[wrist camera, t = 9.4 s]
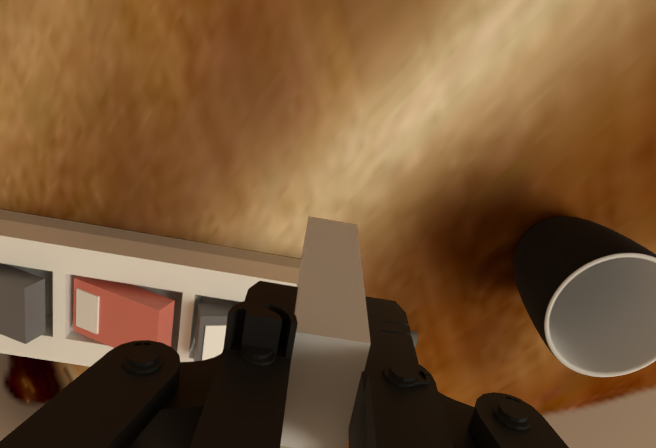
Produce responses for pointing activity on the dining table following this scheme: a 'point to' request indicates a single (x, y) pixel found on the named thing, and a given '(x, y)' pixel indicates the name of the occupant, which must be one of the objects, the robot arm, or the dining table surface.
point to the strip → (126, 277)
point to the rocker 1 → (21, 304)
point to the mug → (589, 295)
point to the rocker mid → (120, 312)
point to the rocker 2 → (210, 330)
